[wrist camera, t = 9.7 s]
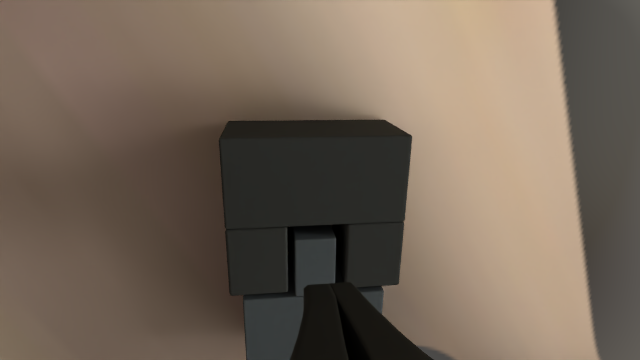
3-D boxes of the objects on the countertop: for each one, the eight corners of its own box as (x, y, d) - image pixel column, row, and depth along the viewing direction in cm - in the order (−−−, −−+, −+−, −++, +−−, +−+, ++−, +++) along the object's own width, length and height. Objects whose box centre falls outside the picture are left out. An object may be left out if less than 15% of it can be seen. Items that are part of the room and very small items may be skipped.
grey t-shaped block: (360, 327, 18) (377, 378, 15) (250, 336, 17) (248, 391, 15) (366, 203, 16) (388, 235, 13) (244, 207, 15) (239, 243, 13)
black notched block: (376, 246, 17) (399, 285, 14) (235, 253, 16) (229, 296, 13) (385, 119, 15) (413, 135, 12) (227, 121, 14) (218, 138, 12)
